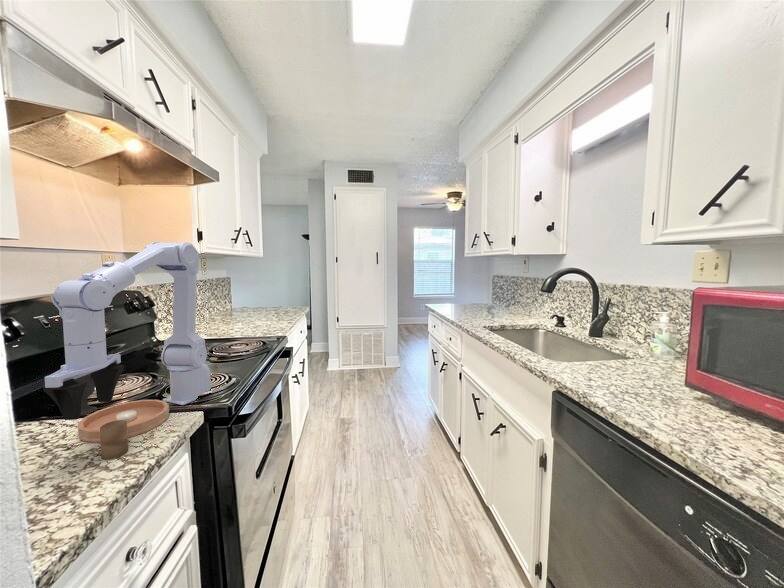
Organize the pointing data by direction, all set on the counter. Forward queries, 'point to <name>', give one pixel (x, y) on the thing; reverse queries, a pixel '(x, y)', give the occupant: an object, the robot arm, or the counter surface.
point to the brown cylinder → (114, 439)
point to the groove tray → (140, 418)
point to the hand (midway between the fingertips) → (89, 409)
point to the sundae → (86, 393)
